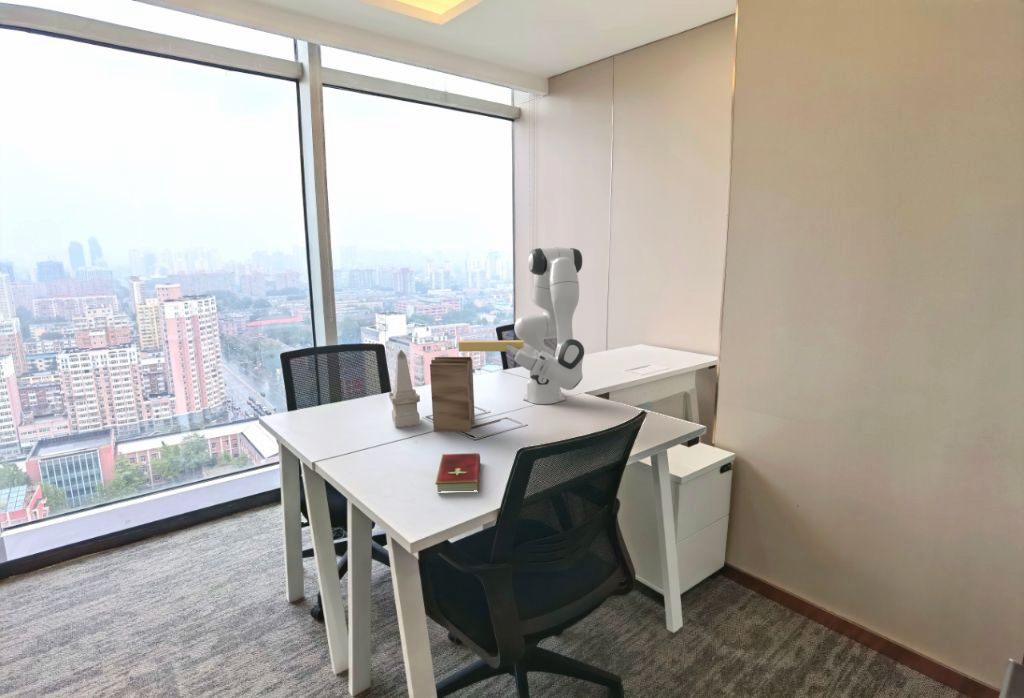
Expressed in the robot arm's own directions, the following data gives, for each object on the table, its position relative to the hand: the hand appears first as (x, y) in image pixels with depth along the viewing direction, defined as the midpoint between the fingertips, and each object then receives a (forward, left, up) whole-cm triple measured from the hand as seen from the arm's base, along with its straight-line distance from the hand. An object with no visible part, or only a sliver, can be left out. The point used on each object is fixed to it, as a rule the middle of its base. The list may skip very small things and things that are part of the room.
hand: (507, 344), depth 194 cm
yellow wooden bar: (0, -6, -2) cm, 7 cm away
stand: (0, -22, -33) cm, 39 cm away
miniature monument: (-4, -43, -33) cm, 54 cm away
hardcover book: (+45, -9, -33) cm, 57 cm away
